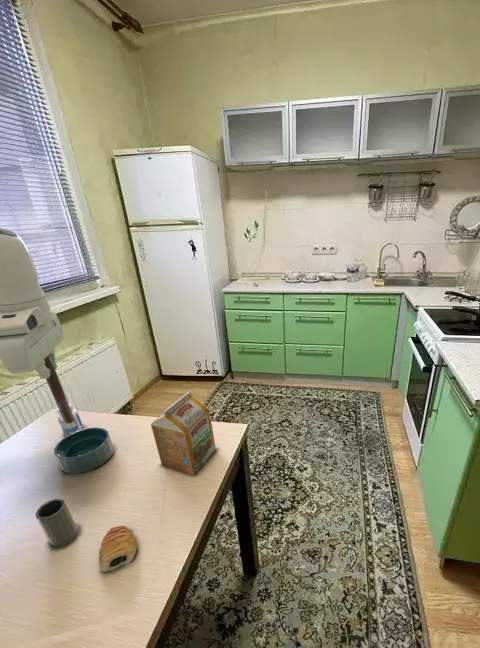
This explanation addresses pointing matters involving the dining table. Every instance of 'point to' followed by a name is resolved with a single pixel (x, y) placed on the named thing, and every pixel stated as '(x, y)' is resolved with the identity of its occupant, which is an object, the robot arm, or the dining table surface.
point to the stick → (58, 393)
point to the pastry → (117, 548)
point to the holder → (57, 522)
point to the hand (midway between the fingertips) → (49, 373)
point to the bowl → (84, 450)
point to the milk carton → (184, 435)
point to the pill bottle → (71, 427)
